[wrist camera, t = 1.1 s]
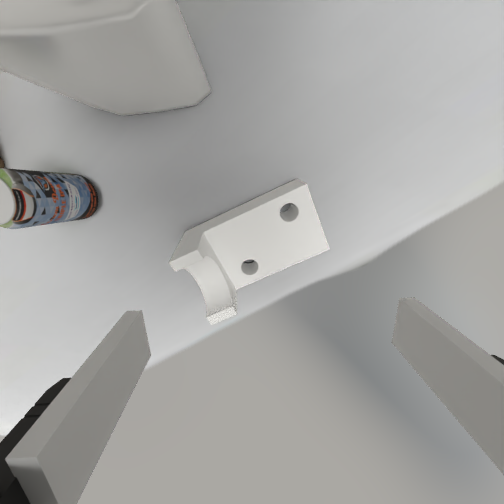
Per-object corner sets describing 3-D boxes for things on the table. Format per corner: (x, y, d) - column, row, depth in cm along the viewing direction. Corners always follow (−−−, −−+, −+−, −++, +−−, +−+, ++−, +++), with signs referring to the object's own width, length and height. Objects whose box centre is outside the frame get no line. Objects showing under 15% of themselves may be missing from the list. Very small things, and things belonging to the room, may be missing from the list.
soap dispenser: (217, 88, 31) (164, -75, 10) (136, 158, 34) (-41, 142, 13) (130, -42, 27) (-251, -752, 6) (44, 49, 29) (-443, -243, 9)
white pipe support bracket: (216, 282, 41) (211, 324, 31) (185, 231, 37) (168, 262, 27) (318, 237, 39) (346, 268, 29) (297, 178, 35) (321, 192, 25)
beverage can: (99, 223, 36) (33, 248, 25) (47, 204, 35) (-48, 221, 24) (108, 182, 34) (41, 189, 23) (53, 161, 33) (-46, 157, 22)
